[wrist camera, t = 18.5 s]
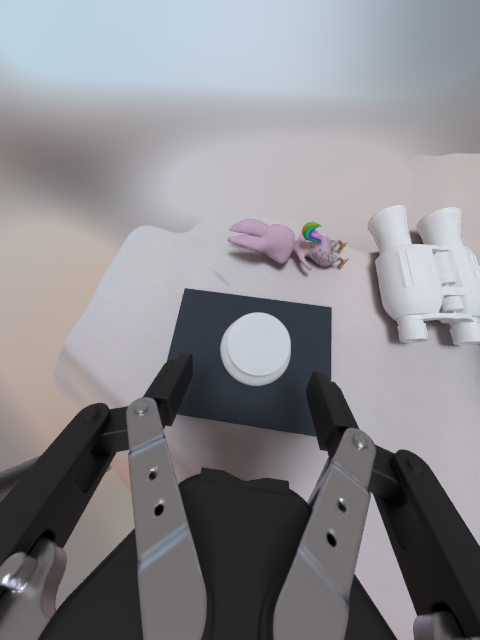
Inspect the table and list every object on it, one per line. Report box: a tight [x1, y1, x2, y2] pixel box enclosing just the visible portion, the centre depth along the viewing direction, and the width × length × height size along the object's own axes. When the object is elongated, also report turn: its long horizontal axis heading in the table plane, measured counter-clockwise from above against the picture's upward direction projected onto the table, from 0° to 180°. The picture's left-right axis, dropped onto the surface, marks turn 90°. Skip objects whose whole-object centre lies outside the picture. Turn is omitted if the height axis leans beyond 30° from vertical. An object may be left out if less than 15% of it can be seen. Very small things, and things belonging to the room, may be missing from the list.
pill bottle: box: [220, 312, 291, 386], centre depth 16 cm, size 5×5×10 cm
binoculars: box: [368, 205, 480, 345], centre depth 22 cm, size 10×16×5 cm, turn 177°
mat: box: [167, 288, 331, 436], centre depth 21 cm, size 18×14×1 cm
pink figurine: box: [228, 219, 349, 270], centre depth 22 cm, size 6×6×15 cm
